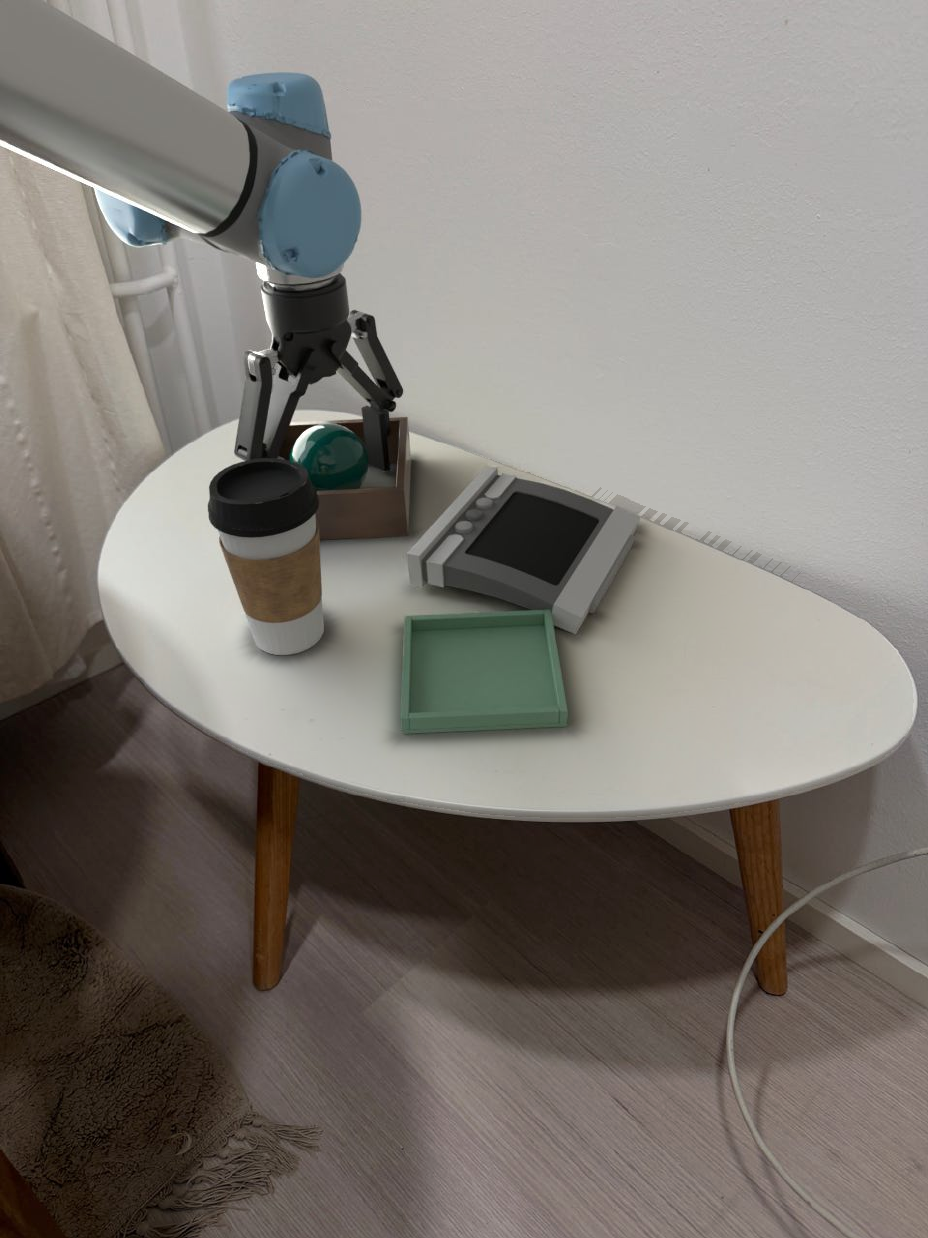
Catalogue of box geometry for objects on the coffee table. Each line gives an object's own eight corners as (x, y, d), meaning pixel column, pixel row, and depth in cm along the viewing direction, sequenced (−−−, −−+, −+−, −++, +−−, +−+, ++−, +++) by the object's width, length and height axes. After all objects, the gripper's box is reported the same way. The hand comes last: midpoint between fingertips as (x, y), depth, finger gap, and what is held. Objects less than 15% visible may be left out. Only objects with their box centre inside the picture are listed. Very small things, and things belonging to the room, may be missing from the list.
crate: (247, 543, 89) (237, 498, 86) (269, 465, 101) (261, 423, 98) (408, 535, 89) (404, 490, 86) (411, 458, 101) (407, 416, 98)
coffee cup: (273, 680, 73) (237, 519, 64) (220, 631, 78) (180, 476, 69) (358, 634, 77) (337, 477, 68) (303, 591, 82) (275, 439, 73)
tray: (402, 734, 68) (400, 718, 67) (405, 630, 77) (404, 615, 76) (567, 726, 68) (567, 711, 67) (550, 623, 77) (550, 609, 76)
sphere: (281, 497, 96) (268, 426, 91) (345, 471, 100) (336, 402, 95) (322, 527, 91) (311, 455, 86) (388, 499, 95) (381, 428, 90)
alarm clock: (486, 465, 91) (646, 491, 86) (488, 506, 94) (643, 534, 88) (406, 553, 79) (587, 590, 73) (411, 597, 82) (586, 636, 76)
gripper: (211, 327, 72) (259, 554, 86) (429, 250, 86) (441, 457, 99) (160, 306, 77) (213, 526, 90) (375, 236, 90) (394, 436, 103)
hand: (333, 490), depth 95 cm, fingers open, 12 cm apart
